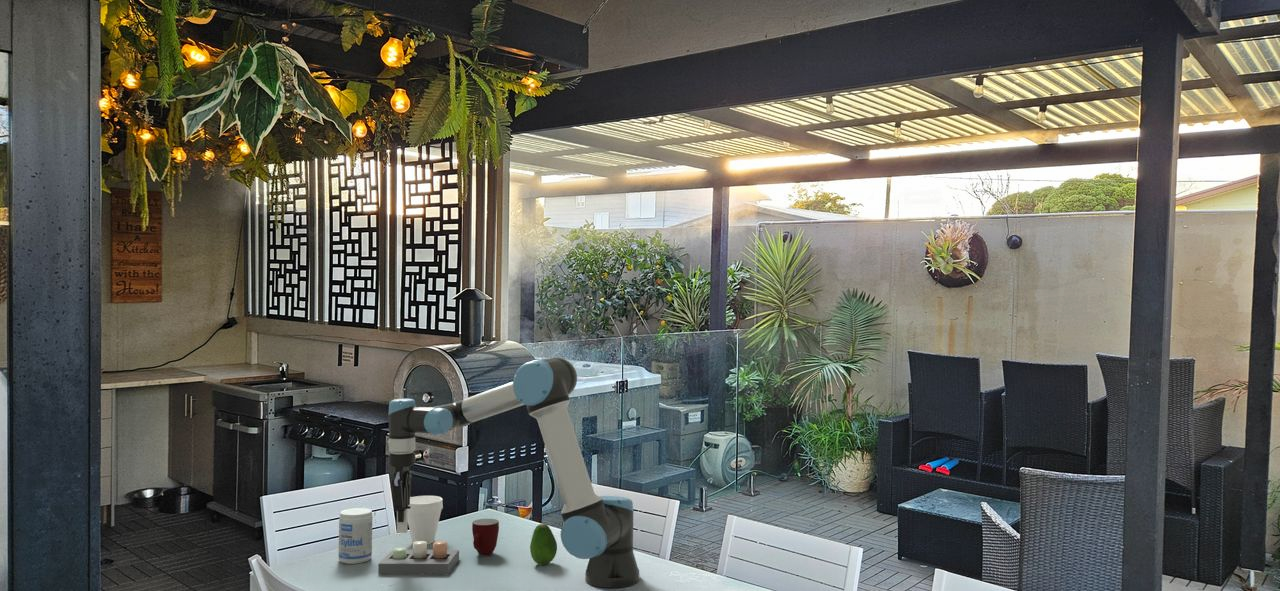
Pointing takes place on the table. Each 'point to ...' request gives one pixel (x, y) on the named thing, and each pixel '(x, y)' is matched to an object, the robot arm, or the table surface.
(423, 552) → the button cream
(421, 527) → the cup
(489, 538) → the mug
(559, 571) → the table surface
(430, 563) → the button panel
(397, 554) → the button sage
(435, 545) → the button terracotta
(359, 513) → the supplement tub
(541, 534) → the fruit
